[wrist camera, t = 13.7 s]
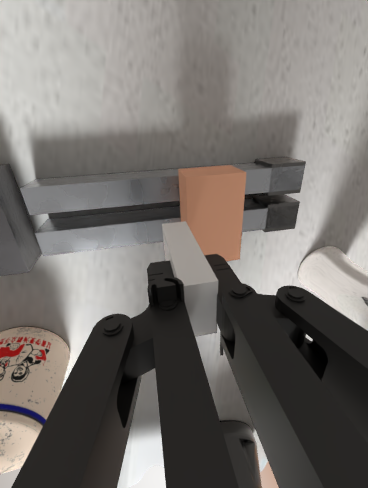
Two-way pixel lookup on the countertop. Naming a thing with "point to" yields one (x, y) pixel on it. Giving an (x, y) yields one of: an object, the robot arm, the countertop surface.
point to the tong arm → (152, 225)
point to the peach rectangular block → (214, 207)
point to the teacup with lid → (27, 388)
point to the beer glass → (337, 282)
